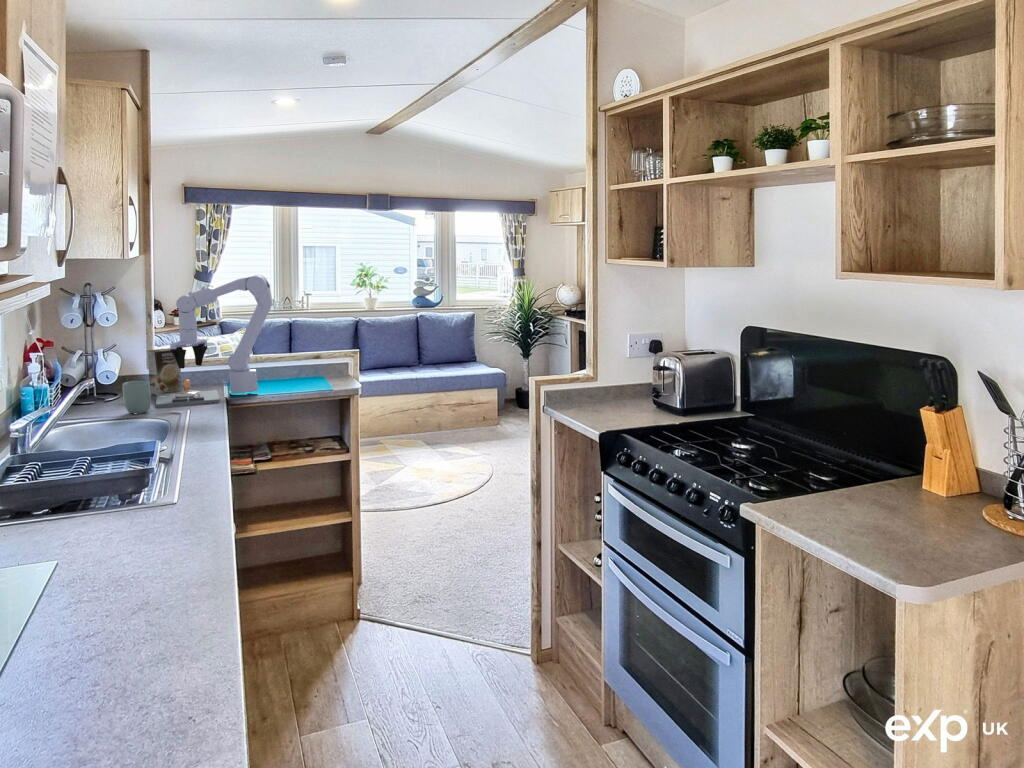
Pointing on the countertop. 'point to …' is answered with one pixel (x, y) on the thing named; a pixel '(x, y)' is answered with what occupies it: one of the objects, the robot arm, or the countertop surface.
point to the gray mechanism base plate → (186, 399)
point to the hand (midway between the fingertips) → (190, 366)
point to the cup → (137, 396)
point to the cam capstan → (187, 391)
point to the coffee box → (163, 372)
